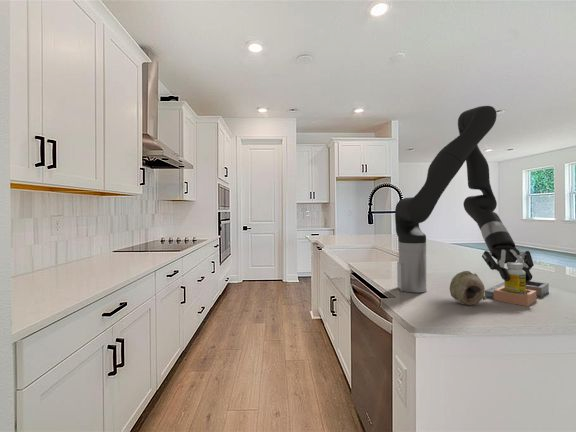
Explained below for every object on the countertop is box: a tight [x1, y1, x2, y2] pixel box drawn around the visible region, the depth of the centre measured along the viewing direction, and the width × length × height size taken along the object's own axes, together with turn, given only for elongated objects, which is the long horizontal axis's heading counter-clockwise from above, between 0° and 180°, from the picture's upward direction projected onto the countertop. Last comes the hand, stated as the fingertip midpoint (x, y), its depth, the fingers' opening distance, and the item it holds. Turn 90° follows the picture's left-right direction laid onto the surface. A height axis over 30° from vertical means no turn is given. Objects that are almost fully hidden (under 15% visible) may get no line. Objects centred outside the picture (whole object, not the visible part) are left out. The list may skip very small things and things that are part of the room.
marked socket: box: [493, 286, 537, 307], centre depth 92 cm, size 9×9×3 cm
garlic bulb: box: [449, 270, 487, 307], centre depth 90 cm, size 9×8×10 cm
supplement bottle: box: [503, 261, 526, 295], centre depth 92 cm, size 5×5×10 cm
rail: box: [484, 280, 550, 299], centre depth 98 cm, size 21×12×3 cm, turn 127°
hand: (518, 280), depth 91 cm, fingers closed on supplement bottle, 5 cm apart
